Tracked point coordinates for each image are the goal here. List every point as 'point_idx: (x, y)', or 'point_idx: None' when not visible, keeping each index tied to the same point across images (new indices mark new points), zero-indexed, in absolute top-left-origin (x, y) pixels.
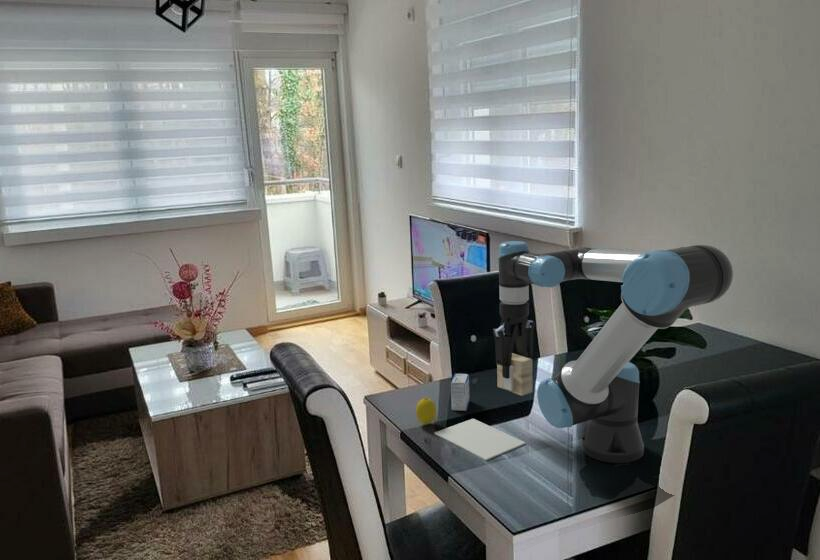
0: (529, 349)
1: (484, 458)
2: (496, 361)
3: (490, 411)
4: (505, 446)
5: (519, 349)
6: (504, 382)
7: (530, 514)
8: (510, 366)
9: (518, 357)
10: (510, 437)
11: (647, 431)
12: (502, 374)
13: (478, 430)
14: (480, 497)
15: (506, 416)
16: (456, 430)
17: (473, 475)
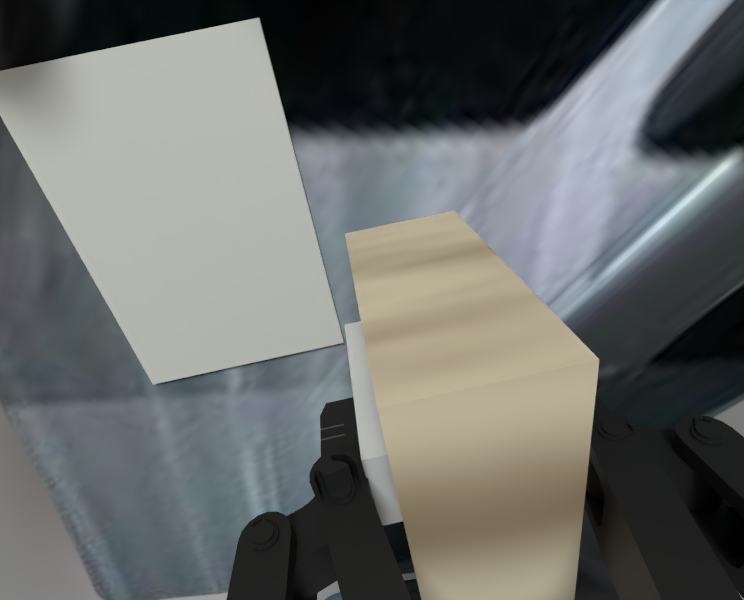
0: (730, 573)
1: (151, 378)
2: (239, 560)
3: None
4: (262, 339)
5: (635, 575)
6: (349, 352)
7: (165, 578)
8: (384, 515)
9: (517, 555)
10: (317, 290)
11: (693, 407)
12: (320, 425)
13: (222, 172)
14: (69, 514)
15: (436, 80)
16: (113, 116)
17: (83, 434)
